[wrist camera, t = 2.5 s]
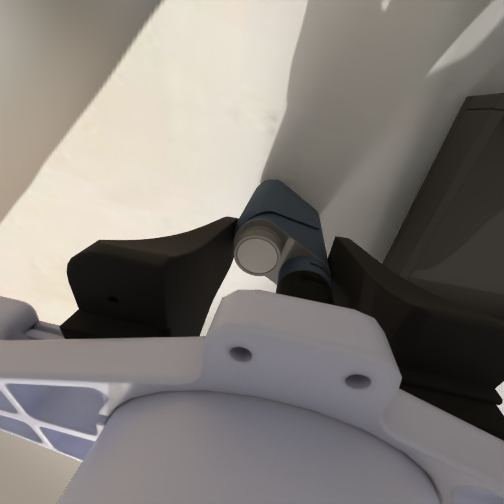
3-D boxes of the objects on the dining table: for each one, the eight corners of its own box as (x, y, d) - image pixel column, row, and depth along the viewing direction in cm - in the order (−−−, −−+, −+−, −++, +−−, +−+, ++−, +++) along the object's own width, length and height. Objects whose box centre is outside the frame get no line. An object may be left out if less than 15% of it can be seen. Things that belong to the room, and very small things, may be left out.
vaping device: (302, 241, 18) (306, 407, 8) (248, 198, 17) (171, 324, 7) (327, 217, 17) (371, 379, 6) (270, 169, 16) (217, 271, 6)
